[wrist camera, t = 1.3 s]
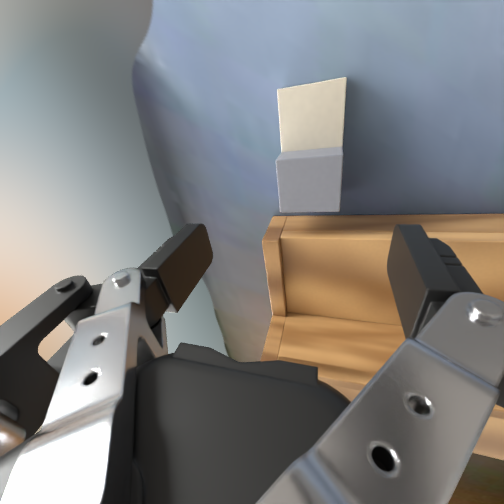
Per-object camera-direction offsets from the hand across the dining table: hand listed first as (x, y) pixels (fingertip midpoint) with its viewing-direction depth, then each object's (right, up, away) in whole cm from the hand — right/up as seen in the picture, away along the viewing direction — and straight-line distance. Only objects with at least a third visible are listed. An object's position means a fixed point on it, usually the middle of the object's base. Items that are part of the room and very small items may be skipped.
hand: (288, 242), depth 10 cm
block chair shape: (+3, +8, +8) cm, 12 cm away
